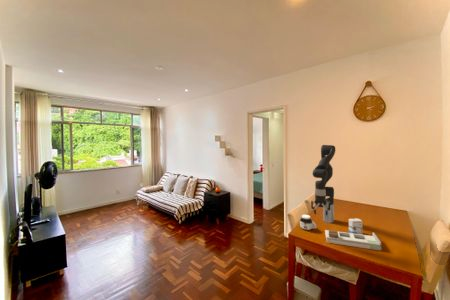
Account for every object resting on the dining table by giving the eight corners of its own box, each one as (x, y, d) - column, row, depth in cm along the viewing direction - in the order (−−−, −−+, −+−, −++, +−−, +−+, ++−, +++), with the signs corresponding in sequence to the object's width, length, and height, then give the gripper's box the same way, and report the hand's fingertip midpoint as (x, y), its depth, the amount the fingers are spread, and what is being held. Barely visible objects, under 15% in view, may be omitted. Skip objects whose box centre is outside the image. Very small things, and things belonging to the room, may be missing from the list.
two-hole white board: (325, 232, 164) (325, 226, 164) (373, 239, 151) (373, 232, 151) (326, 242, 150) (326, 235, 149) (381, 250, 136) (381, 243, 136)
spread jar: (298, 228, 174) (298, 215, 173) (305, 224, 181) (304, 212, 180) (311, 233, 165) (311, 219, 164) (318, 228, 172) (317, 215, 171)
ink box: (352, 235, 158) (352, 221, 157) (348, 232, 163) (348, 218, 162) (362, 234, 158) (362, 220, 158) (358, 231, 164) (358, 218, 163)
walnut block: (328, 235, 156) (328, 230, 155) (337, 236, 153) (337, 231, 153) (329, 238, 150) (329, 233, 150) (338, 240, 148) (338, 234, 147)
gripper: (330, 193, 154) (330, 213, 155) (310, 192, 159) (310, 211, 160) (331, 196, 147) (331, 217, 148) (310, 194, 152) (310, 215, 153)
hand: (320, 214), depth 154 cm, fingers open, 7 cm apart
